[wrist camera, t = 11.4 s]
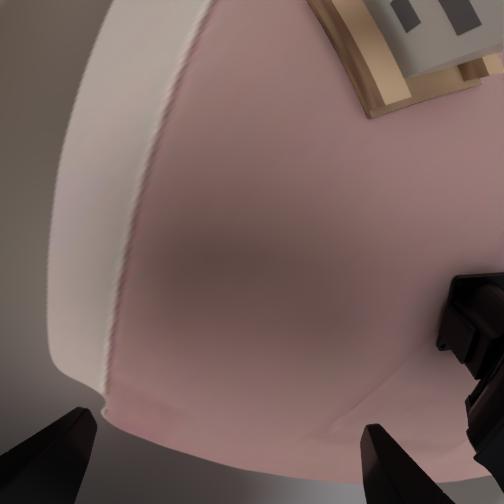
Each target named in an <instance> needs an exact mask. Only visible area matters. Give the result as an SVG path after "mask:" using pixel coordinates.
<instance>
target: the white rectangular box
mask: <svg viewBox="0 0 504 504" xmlns="http://www.w3.org/2000/svg"><path fill="white" fill-rule="evenodd" d="M362 1H363V2H364V4H365V6H366V7H367V9H368V11H369V12H370V14H371V16H372V17H373V19H374V21H375V23H376V24H377V26H378V28H379V30H380V32H381V33H382V35H383V37H384V39H385V41H386V43H387V45H388V47H389V49H390V51H391V53H392V55H393V57H394V59H395V61H396V63H397V65H398V67H399V69H400V71H401V73H402V76H403V78H404V80H405V79H409V78H412V77H416V76H420V75H424V74H428V73H432V72H436V71H440V70H444V69H447V68H450V67H453V66H456V65H459V64H462V63H466V62H469V61H472V60H475V59H478V58H481V57H485V56H488V55H492V54H495V53H499V52H502V51H504V0H362Z"/></svg>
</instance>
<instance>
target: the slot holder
mask: <svg viewBox="0 0 504 504" xmlns="http://www.w3.org/2000/svg"><path fill="white" fill-rule="evenodd" d="M307 2H308V3H309V5H310V6H311V8H312V10H313V11H314V13H315V15H316V16H317V18H318V20H319V21H320V23H321V25H322V27H323V28H324V30H325V32H326V34H327V35H328V37H329V39H330V41H331V43H332V44H333V46H334V48H335V50H336V52H337V54H338V56H339V58H340V60H341V62H342V64H343V66H344V68H345V70H346V72H347V74H348V76H349V78H350V80H351V82H352V84H353V86H354V88H355V90H356V93H357V95H358V97H359V99H360V101H361V104H362V106H363V108H364V111H365V113H366V115H367V118H368V119H370V118H374V117H377V116H379V115H382V114H385V113H388V112H391V111H394V110H397V109H400V108H403V107H406V106H409V105H412V104H416V103H419V102H422V101H425V100H428V99H432V98H435V97H438V96H442V95H445V94H448V93H452V92H455V91H459V90H463V89H466V88H470V87H474V86H478V85H481V84H482V83H481V80H480V78H481V77H485V76H490V75H495V74H499V73H504V68H503V65H502V62H501V60H500V58H499V55H498V53H495V54H492V55H488V56H485V57H481V58H478V59H475V60H472V61H469V62H466V63H462V64H459V65H456V66H453V67H450V68H447V69H444V70H440V71H436V72H432V73H428V74H424V75H420V76H416V77H412V78H409V79H405V80H404V78H403V76H402V73H401V71H400V69H399V67H398V65H397V63H396V61H395V59H394V57H393V55H392V53H391V51H390V49H389V47H388V45H387V43H386V41H385V39H384V37H383V35H382V33H381V32H380V30H379V28H378V26H377V24H376V23H375V21H374V19H373V17H372V16H371V14H370V12H369V11H368V9H367V7H366V6H365V4H364V2H363V1H362V0H307Z"/></svg>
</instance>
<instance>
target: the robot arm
mask: <svg viewBox="0 0 504 504" xmlns="http://www.w3.org/2000/svg"><path fill="white" fill-rule="evenodd" d="M458 282H460V283H459V284H458ZM457 284H458V285H457ZM439 333H440V334H439V337H438V341H437V344H436V346H437V348H438V350H439V351H445V350H452V352H453V353H454V354H455V356H456V357H457V359H458V360H459V362H460V363H461V364H465V365H466V367H467V368H468V370H469V371H470V373H471V374H472V376H473V377H474V379H475V380H479V379H481V380H480V381H479V383H478V384H477V386H476V387H475V389H474V390H473V392H472V393H471V395H469V396H468V397H467V399H466V400H465V405H466V411H467V417H468V427H469V428H468V429H467V431H466V433H467V437H468V439H469V442H470V444H471V445H472V447H473V448H474V450H475V451H476V453H477V454H476V455H475V456H474V457H473V458H474V460H475V461H476V462H478V463H479V464H481V465H483V466H484V467H485V468H486V469H487V470H488V471H489V472H490V473H491V474H492V475H493V477H494V478H495V480H496V481H497V483H498V484H499V486H500V488H501V490H502V491H503V493H504V273H496V274H482V275H466V276H457V277H455V278H454V279H453V282H452V286H451V290H450V295H449V299H448V303H447V306H446V309H445V313H444V317H443V321H442V325H441V328H440V332H439ZM442 344H443V345H442ZM441 345H442V346H441ZM96 432H97V423H96V421H95V419H94V417H93V415H92V413H91V411H90V410H89V409H87V408H84V407H76V408H75V409H73V410H72V411H70V412H69V413H67V414H66V415H64V416H62V417H61V418H59V419H58V420H56V421H55V422H53V423H52V424H50V425H48V426H47V427H45V428H44V429H42V430H41V431H39V432H37V433H36V434H34V435H33V436H31V437H30V438H28V439H27V440H25V441H23V442H22V443H20V444H18V445H17V446H15V447H14V448H12V449H10V450H9V451H8V452H5V453H4V454H2V455H1V456H0V504H74V503H75V500H76V497H77V494H78V491H79V488H80V486H81V483H82V480H83V477H84V474H85V472H86V469H87V466H88V463H89V459H90V456H91V451H92V447H93V443H94V440H95V436H96ZM360 449H361V460H362V473H363V486H364V491H365V497H366V502H367V504H455V503H454V502H453V501H452V500H451V499H450V498H449V497H448V496H447V495H446V494H445V493H443V491H442V490H441V489H440V488H439V487H438V486H437V485H436V484H435V482H434V481H433V480H432V479H431V478H430V477H429V476H428V475H427V474H426V473H425V472H424V471H423V470H422V469H421V468H420V467H419V466H418V465H417V464H416V462H415V461H414V460H413V459H412V458H411V457H410V456H409V455H408V454H407V453H406V452H405V451H404V450H403V449H402V448H401V447H400V445H399V444H398V443H397V442H396V441H395V440H394V439H393V438H392V437H391V436H390V435H389V434H388V433H387V432H386V430H385V429H384V428H383V427H382V426H381V425H380V424H369V425H366V426H365V429H364V432H363V435H362V438H361V441H360Z"/></svg>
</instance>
